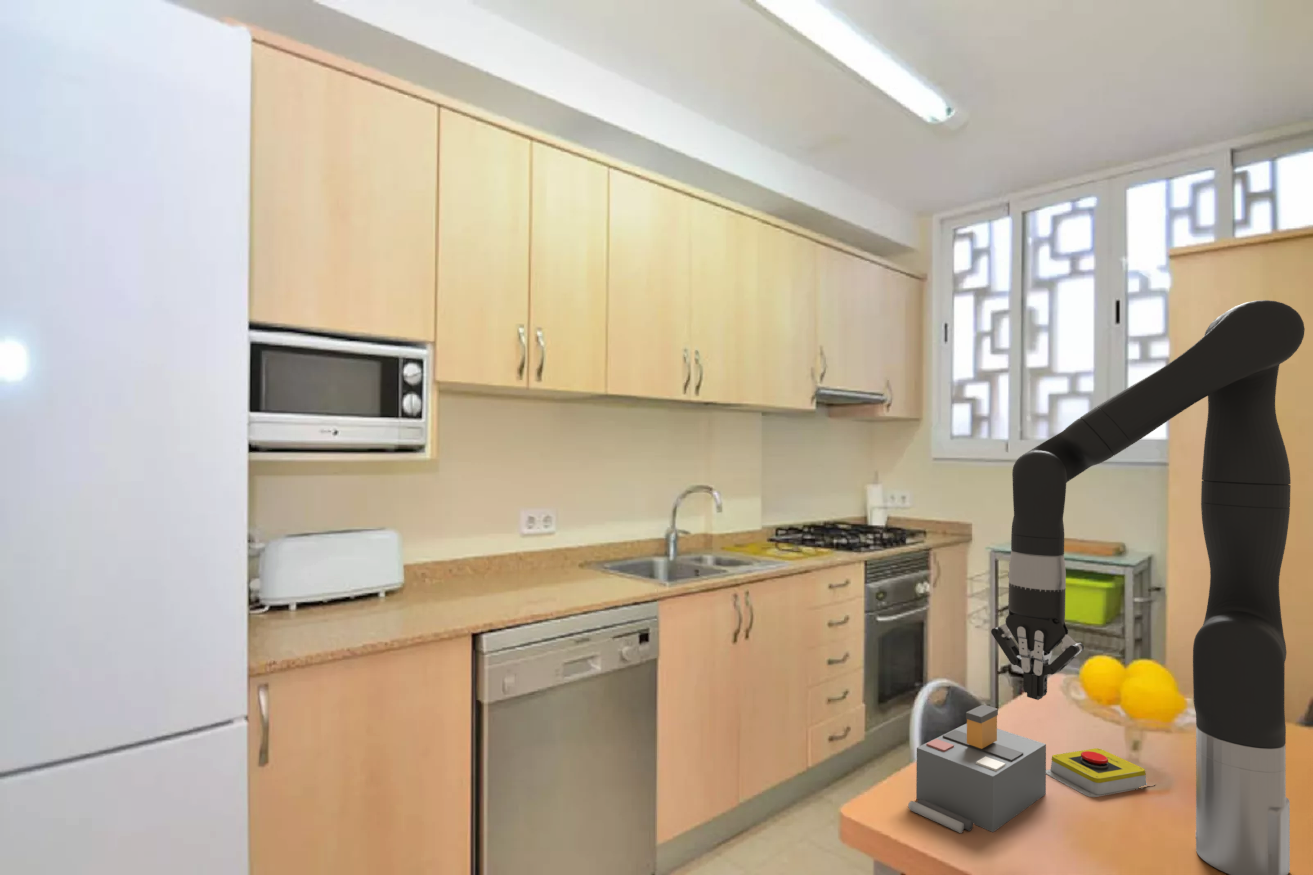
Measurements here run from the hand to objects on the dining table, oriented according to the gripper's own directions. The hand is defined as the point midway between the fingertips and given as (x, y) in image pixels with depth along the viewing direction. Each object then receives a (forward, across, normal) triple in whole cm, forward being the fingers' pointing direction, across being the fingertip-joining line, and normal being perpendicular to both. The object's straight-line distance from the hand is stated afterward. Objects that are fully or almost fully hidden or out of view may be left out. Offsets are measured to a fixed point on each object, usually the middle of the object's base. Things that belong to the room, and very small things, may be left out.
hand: (1034, 697), depth 104 cm
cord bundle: (+18, +8, +12) cm, 23 cm away
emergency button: (+19, -1, -22) cm, 29 cm away
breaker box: (+18, +8, 0) cm, 20 cm away
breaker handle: (+10, +8, 0) cm, 12 cm away
